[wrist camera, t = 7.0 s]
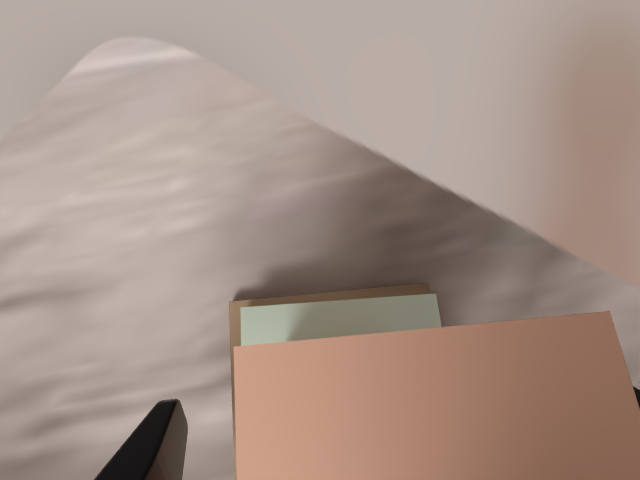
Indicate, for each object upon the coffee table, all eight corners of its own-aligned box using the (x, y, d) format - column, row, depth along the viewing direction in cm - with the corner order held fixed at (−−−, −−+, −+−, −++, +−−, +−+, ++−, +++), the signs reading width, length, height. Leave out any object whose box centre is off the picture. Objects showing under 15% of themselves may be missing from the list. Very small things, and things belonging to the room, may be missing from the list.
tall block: (414, 464, 15) (771, 835, 4) (292, 478, 15) (247, 939, 3) (396, 337, 16) (609, 310, 5) (284, 348, 16) (233, 346, 5)
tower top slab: (457, 504, 16) (472, 519, 15) (249, 527, 15) (244, 545, 14) (425, 297, 19) (436, 293, 17) (245, 310, 18) (240, 307, 17)
